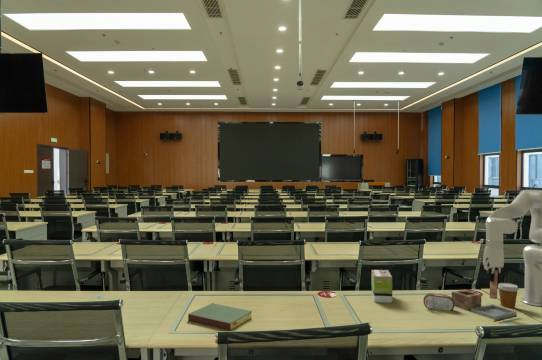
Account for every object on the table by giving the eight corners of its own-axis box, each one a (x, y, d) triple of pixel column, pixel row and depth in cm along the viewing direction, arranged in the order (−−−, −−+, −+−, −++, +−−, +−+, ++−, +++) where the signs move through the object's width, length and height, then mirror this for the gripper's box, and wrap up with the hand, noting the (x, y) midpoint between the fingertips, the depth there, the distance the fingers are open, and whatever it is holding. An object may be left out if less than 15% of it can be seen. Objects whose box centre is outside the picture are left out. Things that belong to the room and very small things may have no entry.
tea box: (371, 294, 239) (371, 269, 239) (388, 295, 238) (388, 269, 237) (373, 302, 224) (374, 275, 224) (392, 303, 223) (393, 276, 223)
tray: (492, 308, 214) (492, 304, 214) (516, 316, 202) (516, 311, 202) (471, 313, 207) (471, 308, 207) (494, 321, 195) (494, 316, 195)
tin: (454, 311, 209) (455, 295, 209) (454, 313, 207) (454, 297, 206) (423, 307, 216) (423, 291, 216) (423, 309, 213) (423, 293, 213)
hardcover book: (188, 321, 195) (188, 314, 195) (212, 310, 212) (212, 303, 212) (231, 332, 183) (231, 323, 183) (253, 319, 199) (253, 311, 199)
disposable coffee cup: (521, 311, 211) (521, 288, 210) (501, 309, 213) (501, 287, 212) (514, 305, 220) (514, 283, 220) (494, 304, 222) (495, 282, 222)
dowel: (492, 296, 206) (493, 268, 206) (498, 298, 204) (499, 270, 203) (488, 297, 205) (488, 269, 205) (494, 299, 202) (494, 270, 202)
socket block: (464, 304, 222) (464, 289, 221) (481, 309, 213) (481, 294, 212) (451, 306, 217) (451, 291, 217) (467, 312, 208) (468, 297, 208)
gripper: (498, 242, 211) (497, 277, 211) (476, 243, 204) (475, 280, 204) (512, 244, 204) (511, 281, 204) (490, 246, 197) (489, 284, 197)
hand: (493, 280), depth 204 cm, fingers closed on dowel, 3 cm apart
